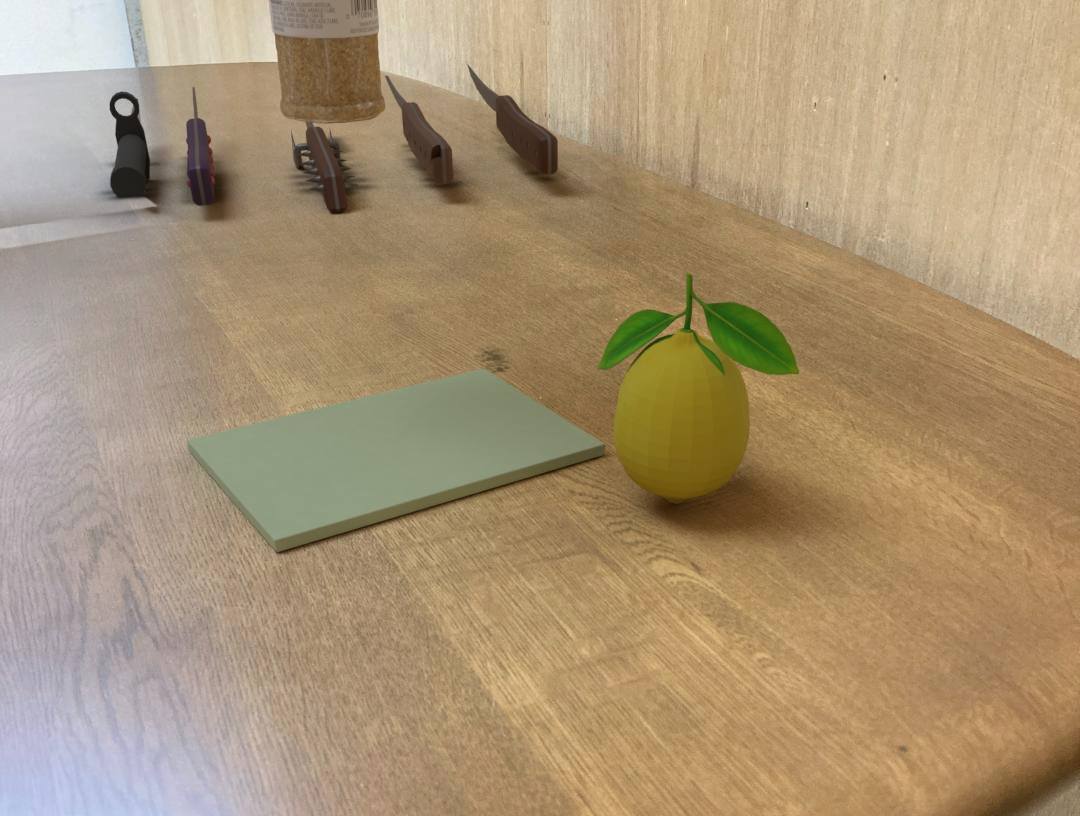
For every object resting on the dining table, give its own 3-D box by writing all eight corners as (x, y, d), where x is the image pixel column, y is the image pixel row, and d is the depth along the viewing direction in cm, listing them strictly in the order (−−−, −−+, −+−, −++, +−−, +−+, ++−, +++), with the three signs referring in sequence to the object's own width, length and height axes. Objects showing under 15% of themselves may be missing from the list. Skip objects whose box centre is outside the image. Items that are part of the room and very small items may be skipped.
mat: (276, 553, 45) (274, 540, 45) (188, 450, 53) (186, 439, 53) (605, 455, 53) (605, 443, 52) (484, 378, 61) (484, 367, 60)
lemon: (781, 528, 47) (809, 290, 42) (650, 553, 45) (663, 309, 40) (706, 459, 52) (723, 242, 47) (587, 479, 50) (591, 257, 45)
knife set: (476, 111, 120) (473, 31, 116) (561, 202, 94) (561, 104, 89) (131, 137, 113) (114, 54, 109) (117, 245, 86) (94, 140, 82)
